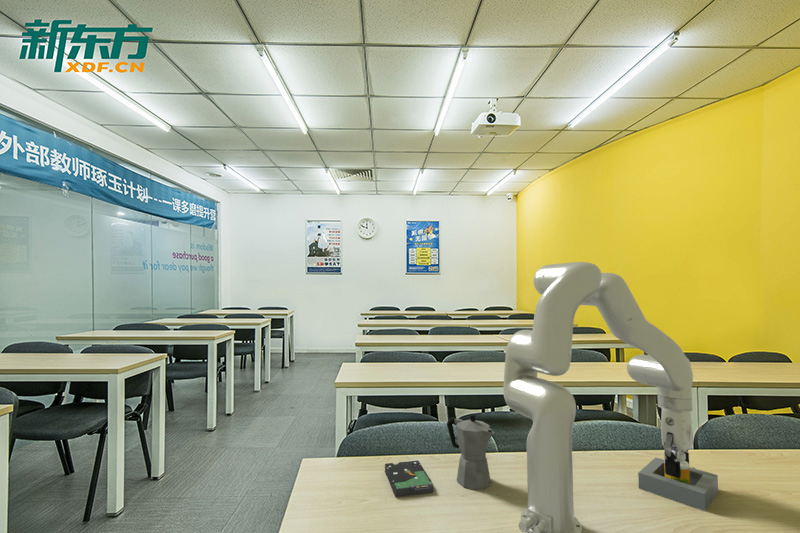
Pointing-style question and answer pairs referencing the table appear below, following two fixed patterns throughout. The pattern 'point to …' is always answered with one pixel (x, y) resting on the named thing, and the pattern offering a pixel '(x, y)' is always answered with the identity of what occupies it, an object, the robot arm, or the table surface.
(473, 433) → the coffeepot
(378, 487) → the table surface
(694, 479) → the gray rectangular open box
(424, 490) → the disk drive
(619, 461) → the table surface
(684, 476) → the supplement bottle
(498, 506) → the table surface
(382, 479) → the table surface
